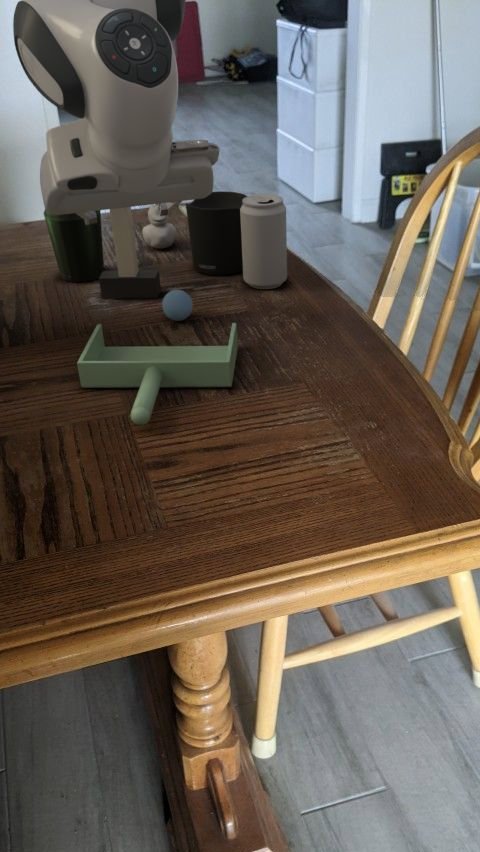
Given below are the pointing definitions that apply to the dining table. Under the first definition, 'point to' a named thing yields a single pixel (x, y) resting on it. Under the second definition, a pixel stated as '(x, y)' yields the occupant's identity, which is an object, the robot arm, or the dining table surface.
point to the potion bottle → (76, 246)
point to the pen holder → (216, 233)
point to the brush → (127, 264)
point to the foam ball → (177, 305)
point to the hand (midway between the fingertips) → (127, 215)
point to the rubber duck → (158, 230)
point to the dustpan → (155, 368)
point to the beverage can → (264, 240)
